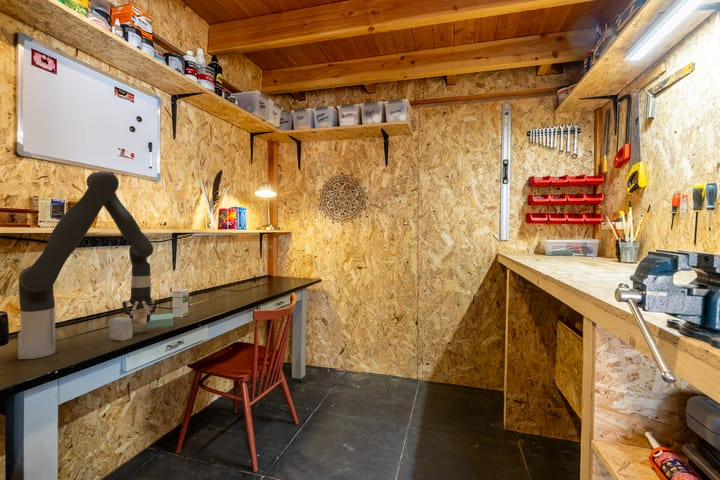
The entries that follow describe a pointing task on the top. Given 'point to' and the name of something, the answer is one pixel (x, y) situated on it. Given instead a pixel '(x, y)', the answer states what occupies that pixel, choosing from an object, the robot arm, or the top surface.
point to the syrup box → (180, 302)
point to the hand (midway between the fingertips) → (140, 322)
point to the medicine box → (120, 328)
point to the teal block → (160, 320)
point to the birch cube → (139, 318)
